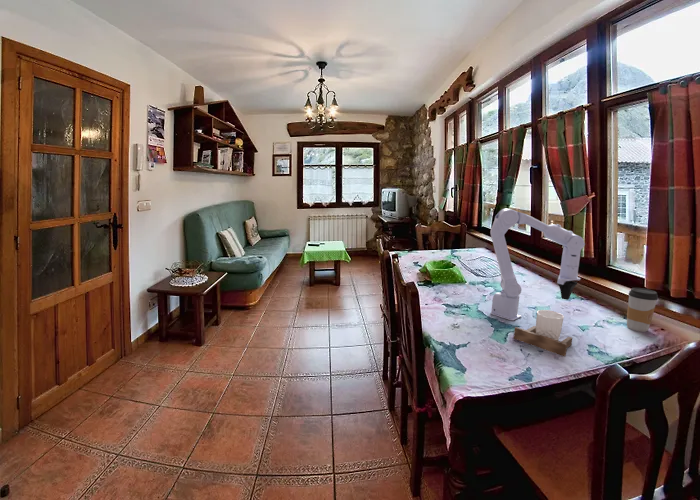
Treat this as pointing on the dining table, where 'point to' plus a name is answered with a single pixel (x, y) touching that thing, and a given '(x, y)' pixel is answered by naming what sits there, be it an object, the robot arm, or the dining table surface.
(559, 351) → the bar
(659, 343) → the dining table surface
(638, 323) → the coffee cup
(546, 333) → the white cup
